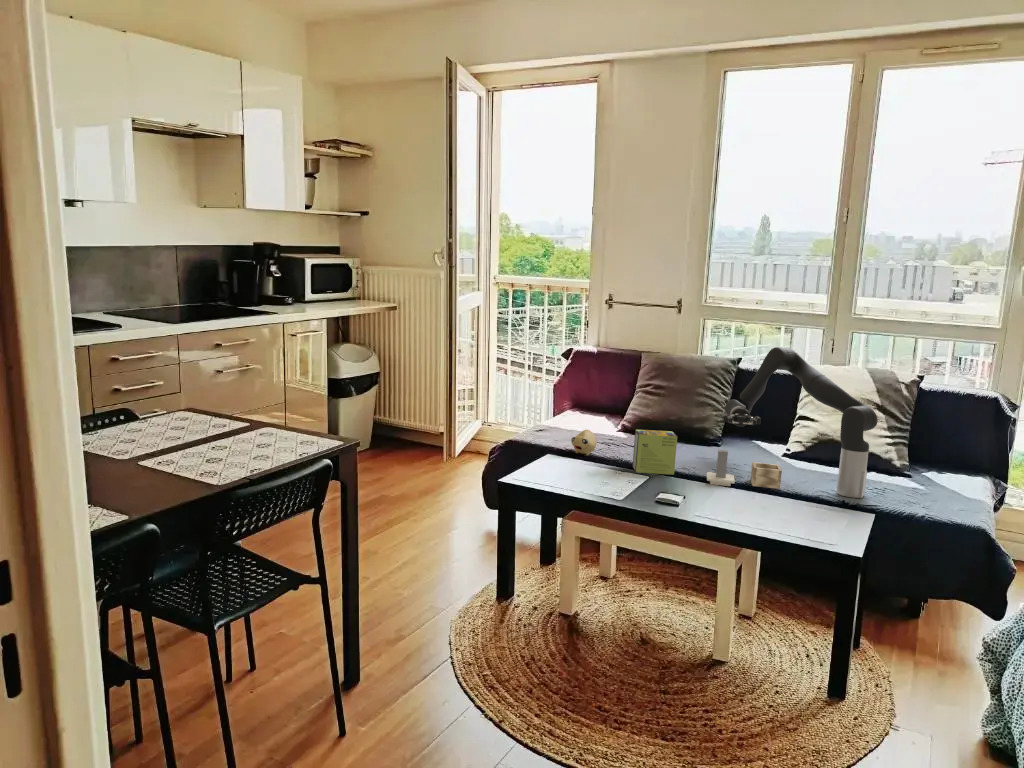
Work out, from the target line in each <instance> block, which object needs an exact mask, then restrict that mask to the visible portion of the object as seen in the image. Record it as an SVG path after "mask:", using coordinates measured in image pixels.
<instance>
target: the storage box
mask: <svg viewBox="0 0 1024 768" xmlns="http://www.w3.org/2000/svg"><path fill="white" fill-rule="evenodd" d="M782 472H783V471H782V468H781V465H780V464H773V463H767V462H766V463H764V462H754V461H752V462H751V471H750V482H751V483H750V484H751V486H752V487H758V488H759V487H760V488H768V489H769V488H771V489H779V490H780V489H781V484H782Z"/></svg>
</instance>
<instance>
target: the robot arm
mask: <svg viewBox="0 0 1024 768" xmlns="http://www.w3.org/2000/svg"><path fill="white" fill-rule="evenodd" d="M776 371H786V372H788V373H791V374H792V375H793V376H794V377H796V378H797V379H798V380H799V381H800V383H801V385H802V388H803V389H804V391H805V392H806V393H807V394H808V395H809V396H810V397H812V398H813V399H814V400H816V401H817V402H818V403H821V404H823V405H825V406H828V407H830V408H832V409H835V410H837V411H839V412H841V413H842V416H841V422H840V435H839V436H840V437H839V439H840V442H841V449H840V456H839V464H838V465H839V466H838V475H837V484H836V491H835V492H836V494H837V495H839V496H843V497H847V498H855V499H863V497H865V493H866V484H867V483H866V482H867V475H868V470H867V467H868V460H869V459H868V458H869V450H870V444H869V443H868V442H867V441H865V440H864V432H867V431H871V430H873V429H875V428H876V427H877V426H878V416H877V413H876V412H875V411H874V409H872V407H870V406H868V405H866V404H865V403H864V402H862V401H860V400H858V399H857V398H855V397H853V396H852V395H850V394H849V393H847V392H846V391H845V390H844V389H843V388H842V387H840V386H838V384H836V383H835V382H834V381H832V379H830V378H829V377H827V376H826V375H825V374H824V373H822V372H820V371H819V370H818V369H816V368H815V367H814V366H812V365H811V364H809V363H808V361H806V360H805V359H804V358H803V357H802V356H801V355H799V353H798V352H796V351H795V350H794V349H793V348H790V347H783V346H782V347H781V346H776V347H773V348H771V349H770V350H769V351H768V353H766V356H765V357H764V360H763V361H762V362H761V364H760V366H759V368H758V369H757V371H756V373H755V374H754V376H753V378H752V379H751V381H750V382H749V383H748V384H747V385H746V387H744V389H743V390H742V392H740V394H739V399H740V401H741V402H742V403H741V402H740V401H739V400H737V399H730V400H729V401H726V404H725V406H724V412H725V413H723V418H722V419H723V420H722V421H723V423H729V424H731V425H732V424H733V425H735V426H736V427H745V426H747V425H752V426H756V425H759V426H760V425H761V420H762V418H761V417H760V416H758V415H756V416H753V415H751V411H752V409H753V408H754V405H755V404H756V402H757V401H758V400H759V399H760V398H761V396H762V395H763V394H764V392H765V391H766V387H767V383H768V381H769V378H770V377H771V376H772V375H773V374H774V373H775V372H776Z"/></svg>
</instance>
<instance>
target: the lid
mask: <svg viewBox="0 0 1024 768" xmlns="http://www.w3.org/2000/svg"><path fill="white" fill-rule="evenodd" d="M728 454H729V451H728V450H727V449H719V448H718V449H717V459H716V467H715V472H710V471H708V472H707V471H706V481H707V482H709V484H710V485H714V486H715V485H716V486H725V487H731V486H732V485H731V484H735V482H736V481H735V475H734V474H728V473H727V468H728V467H727V465H728V456H729V455H728Z"/></svg>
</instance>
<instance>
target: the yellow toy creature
mask: <svg viewBox="0 0 1024 768" xmlns="http://www.w3.org/2000/svg"><path fill="white" fill-rule="evenodd" d="M570 441H571V445H572V446H573V448H574V450H575V454H582V455H586V456H587V457H588V456H589V455H590V453H592V452H594V451H595V450H596V447H597V444H598V441H597V437H596V435H595V433H593V431H591V430H589V429H584V430H582V431H581V432H580V433H578V434H577V435H576V436H573V437H572V438H571V440H570Z"/></svg>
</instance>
